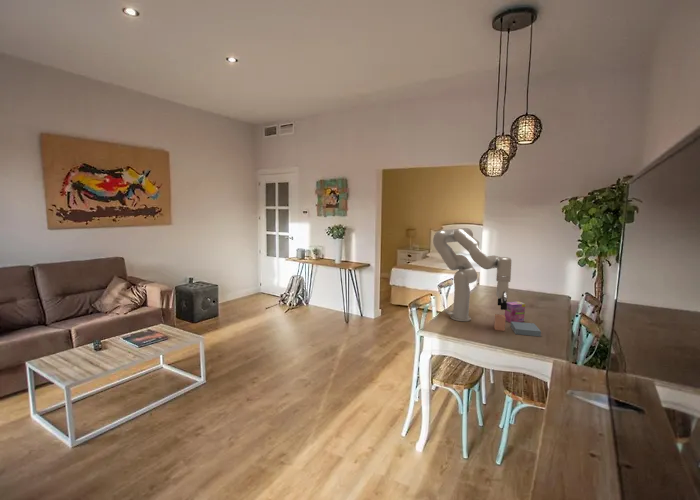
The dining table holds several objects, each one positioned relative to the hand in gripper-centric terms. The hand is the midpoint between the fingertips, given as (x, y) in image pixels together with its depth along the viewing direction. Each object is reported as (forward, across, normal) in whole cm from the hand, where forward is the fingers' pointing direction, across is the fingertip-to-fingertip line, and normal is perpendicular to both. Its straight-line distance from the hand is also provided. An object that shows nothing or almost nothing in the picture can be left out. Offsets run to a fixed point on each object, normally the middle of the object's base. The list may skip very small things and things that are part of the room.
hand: (502, 307), depth 211 cm
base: (+13, -1, +13) cm, 19 cm away
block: (+13, -1, -1) cm, 13 cm away
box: (+13, -20, +11) cm, 26 cm away
